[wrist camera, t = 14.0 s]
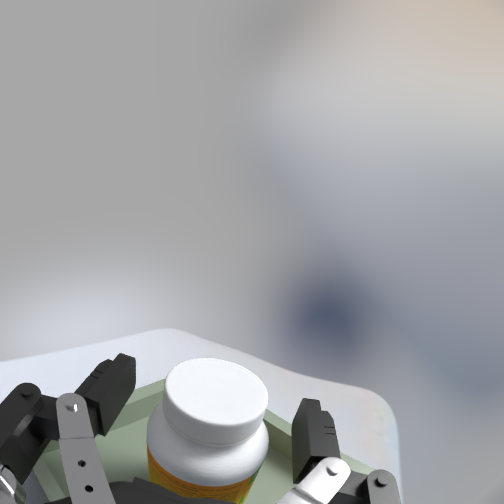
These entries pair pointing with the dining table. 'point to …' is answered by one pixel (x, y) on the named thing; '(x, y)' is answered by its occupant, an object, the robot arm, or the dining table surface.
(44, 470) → the tray
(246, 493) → the supplement bottle
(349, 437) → the dining table surface
